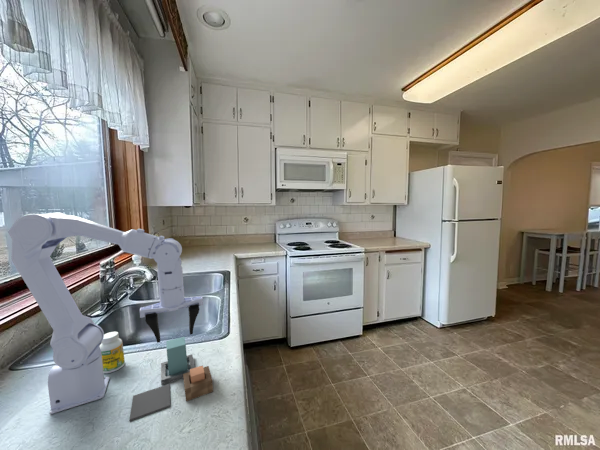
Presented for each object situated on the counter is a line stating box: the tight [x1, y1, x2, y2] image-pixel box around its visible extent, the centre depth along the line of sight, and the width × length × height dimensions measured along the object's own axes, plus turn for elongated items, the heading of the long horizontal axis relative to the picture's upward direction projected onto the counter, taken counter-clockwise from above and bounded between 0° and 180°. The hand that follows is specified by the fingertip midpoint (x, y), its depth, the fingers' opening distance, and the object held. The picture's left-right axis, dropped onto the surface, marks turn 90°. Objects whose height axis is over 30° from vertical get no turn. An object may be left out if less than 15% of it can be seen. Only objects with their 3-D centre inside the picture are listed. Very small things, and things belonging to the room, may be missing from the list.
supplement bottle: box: [99, 331, 126, 374], centre depth 71 cm, size 5×5×10 cm
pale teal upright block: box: [166, 336, 189, 376], centre depth 69 cm, size 4×4×8 cm
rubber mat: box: [128, 383, 171, 422], centre depth 58 cm, size 8×8×1 cm
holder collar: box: [160, 353, 196, 386], centre depth 69 cm, size 8×8×1 cm
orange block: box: [190, 365, 205, 384], centre depth 62 cm, size 3×3×4 cm
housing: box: [182, 365, 214, 402], centre depth 62 cm, size 6×6×3 cm
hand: (175, 336), depth 67 cm, fingers open, 7 cm apart
